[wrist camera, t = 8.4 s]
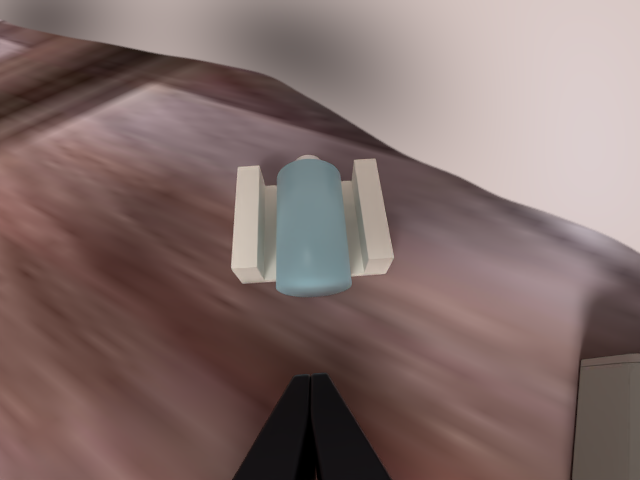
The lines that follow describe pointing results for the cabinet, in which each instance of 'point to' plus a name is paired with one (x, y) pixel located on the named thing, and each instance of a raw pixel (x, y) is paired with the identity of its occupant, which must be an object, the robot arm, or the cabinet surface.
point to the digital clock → (608, 419)
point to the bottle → (311, 230)
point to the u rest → (261, 223)
